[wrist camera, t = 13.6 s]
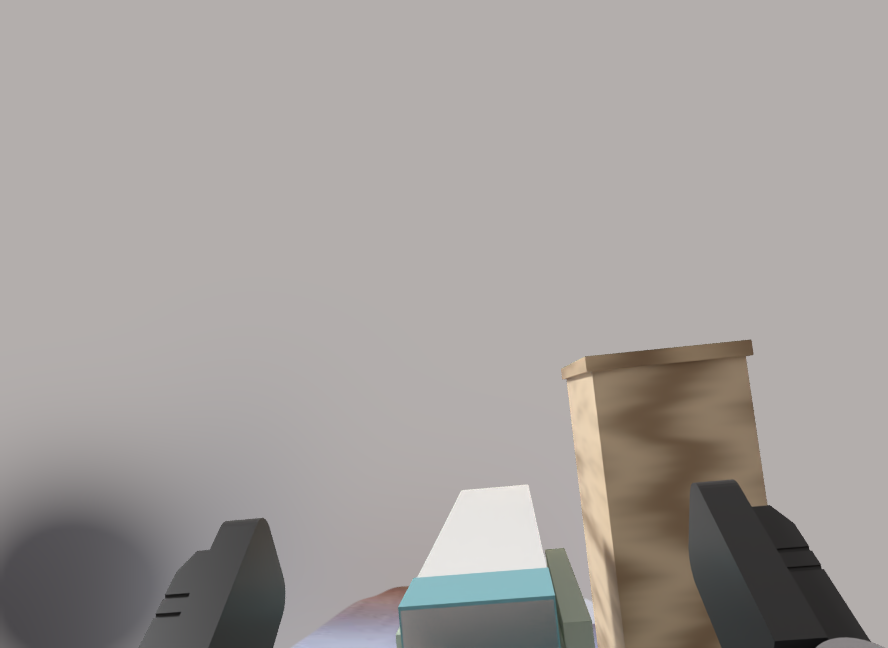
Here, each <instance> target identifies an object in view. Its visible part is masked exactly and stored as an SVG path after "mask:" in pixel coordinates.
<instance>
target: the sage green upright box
mask: <svg viewBox="0 0 888 648" xmlns="http://www.w3.org/2000/svg"><path fill="white" fill-rule="evenodd" d="M545 554H546V563H547V567H548V568H549V572H550V576H551V580H552V585H553V589H554V593H555V600H556V609H557V618H558V627H559V636H560V645H561V648H595V644H594V636H593V627H592V620H591V617H590V615H589V612H588V609H587V607H586V604H585V601H584V599H583V596H582V594H581V591H580V588H579V586H578V583H577V580H576V578H575V575H574V572H573V570H572V567H571V565H570V562H569V559H568V557H567V554H566V551H565V549H564V548H560V549H547V550H545ZM396 643H397V648H402V644H401V633H400V627H399V629H398V631H397V633H396Z"/></svg>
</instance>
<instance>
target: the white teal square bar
mask: <svg viewBox="0 0 888 648" xmlns="http://www.w3.org/2000/svg"><path fill="white" fill-rule="evenodd" d="M398 610H399V621H400V633H401V644H402V648H561V645H560V636H559V627H558V618H557V609H556V600H555V593H554V589H553V585H552V580H551V576H550V572H549V568H548V567H547V568H546V563H545V559H544V554H543V550H542V546H541V541H540V536H539V531H538V527H537V523H536V518H535V513H534V509H533V504H532V500H531V495H530V490H529V486H528V485H517V486H507V487H494V488H483V489H471V490H462V491H461V493H460V494H459V496H458V498H457V500H456V502H455V504H454V506H453V508H452V510H451V512H450V514H449V516H448V519H447V520H446V522H445V524H444V526H443V528H442V530H441V532H440V534H439V536H438V538H437V540H436V542H435V544H434V546H433V548H432V550H431V552H430V554H429V556H428V558H427V560H426V562H425V564H424V566H423V568H422V570H421V572H420V574H419V576H418V577H417V578H413V580H412V582H411V584H410V586H409V588H408V590H407V591H406V593H405V595H404V597H403V599H402V601H401V603H400V605H399V607H398Z"/></svg>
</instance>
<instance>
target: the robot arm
mask: <svg viewBox="0 0 888 648" xmlns="http://www.w3.org/2000/svg"><path fill="white" fill-rule="evenodd" d="M688 549H689V560H690V566H691V570H692V574H693V578H694V581H695V584H696V586H697V589H698V591H699V594H700V596H701V599H702V601H703V604H704V606H705V608H706V611H707V613H708V616H709V618H710V621H711V623H712V626H713V628H714V630H715V633H716V635H717V638H718V640H719V643H720V645H721V648H884V647H882V646H880V645H877V644H875V643H872V642H871V641H870V640H869V638H868V637H867V635H866V634H865V632H864V631H863V629H862V628H861V626H860V625H859V623H858V621H857V620H856V618H855V617H854V615H853V614H852V612H851V611H850V609H849V608H848V606H847V604H846V603H845V601H844V600H843V598H842V597H841V595H840V594H839V592H838V591H837V589H836V587H835V586H834V584H833V583H832V581H831V580H830V578H829V577H828V575H827V574H826V572H825V571H824V569H821V564H820V563H819V561H818V560H817V558H816V557H815V555H814V553H813V552H812V551H810V550H809V546H808V544H807V543H806V541H805V539H804V538H803V536H802V535H801V533H800V532H799V530H798V529H797V527H796V526H795V524H794V523H793V522H791V521H790V520H789V519H787V518H786V517H785V516H783V515H782V514H781V513H779V512H778V511H777V510H775V509H774V508H773V507H772V506H770V505H766V506H754V507H752V506H751V505H750V503H749V501H748V499H747V498H746V496H745V494H744V493H743V491H742V489H741V487H740V486H739V484H738V483H737V482H736V481H735V480H733V479H731V480H719V481H707V482H696V483H692V484H691V487H690V504H689V543H688ZM284 605H285V583H284V578H283V574H282V571H281V567H280V563H279V560H278V556H277V553H276V549H275V545H274V542H273V538H272V535H271V531H270V528H269V525H268V523H267V521H266V520H265V519H264V518H258V519H246V520H234V521H225V522H224V523H223V524H222V525H221V527H220V529H219V531H218V534H217V536H216V538H215V540H214V542H213V544H212V546H211V549H210V550H204V551H197V552H196V553H195V554H194V555H193V556H192V557H191V558H190V559H189V560H188V561H187V562H186V563H185V564H184V565H183V566H182V567H181V568H180V569H179V570H178V571H177V572H176V574H175V576H174V578H173V580H172V582H171V584H170V586H169V588H168V590H167V592H166V594H165V599H163V600H162V602H161V604H160V606H159V608H158V610H157V612H156V618H154V619H153V620H152V622H151V624H150V626H149V628H148V630H147V632H146V634H145V636H144V638H143V640H142V642H141V644H140V646H139V648H273V646H274V642H275V639H276V636H277V632H278V629H279V625H280V622H281V618H282V615H283V611H284Z"/></svg>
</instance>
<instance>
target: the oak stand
mask: <svg viewBox="0 0 888 648" xmlns="http://www.w3.org/2000/svg"><path fill="white" fill-rule="evenodd" d="M750 355H753V348H752V341H751V340H742V341H733V342H724V343H713V344H703V345H694V346H684V347H674V348H664V349H654V350H644V351H635V352H625V353H616V354H605V355H595V356H585V357H583V358H581V359H579V360H577V361H576V362H573V363H572V364H570V365H568V366H566V367H564V368H562V369H561V372H562V379H567V386H568V395H569V403H570V412H571V421H572V429H573V438H574V446H575V455H576V463H577V472H578V480H579V489H580V498H581V506H582V515H583V523H584V532H585V540H586V549H587V557H588V565H589V573H590V574H589V575H590V582H591V592H592V600H593V609H594V617H595V626H596V634H597V643H598V648H721V645H720V643H719V640H718V638H717V635H716V633H715V630H714V628H713V626H712V623H711V621H710V618H709V616H708V613H707V611H706V608H705V606H704V604H703V601H702V599H701V596H700V594H699V591H698V589H697V586H696V584H695V581H694V578H693V574H692V570H691V566H690V560H689V549H688V543H689V504H690V487H691V484H692V483H696V482H707V481H719V480H731V479H733V480H735V481H736V482H737V483H738V484H739V486H740V487H741V489H742V491H743V493H744V494H745V496H746V498H747V499H748V501H749V503H750V505H751V506H752V507H754V506H766V505H767V499H766V492H765V485H764V479H763V471H762V464H761V458H760V451H759V444H758V437H757V430H756V423H755V416H754V410H753V403H752V396H751V390H750V383H749V376H748V368H747V362H746V356H750Z"/></svg>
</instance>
